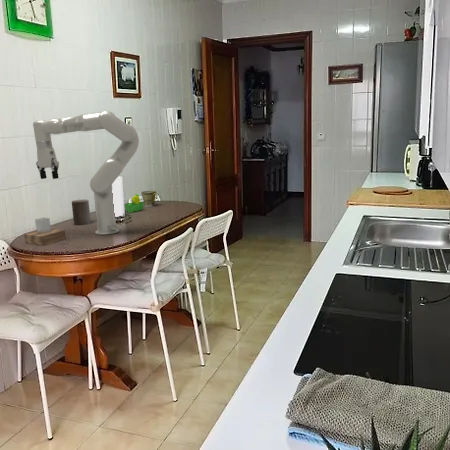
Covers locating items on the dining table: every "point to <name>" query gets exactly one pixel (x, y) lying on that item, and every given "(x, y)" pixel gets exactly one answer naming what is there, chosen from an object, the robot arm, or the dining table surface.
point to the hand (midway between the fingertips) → (49, 178)
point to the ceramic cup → (149, 198)
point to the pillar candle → (81, 212)
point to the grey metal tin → (43, 225)
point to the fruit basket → (134, 204)
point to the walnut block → (45, 237)
